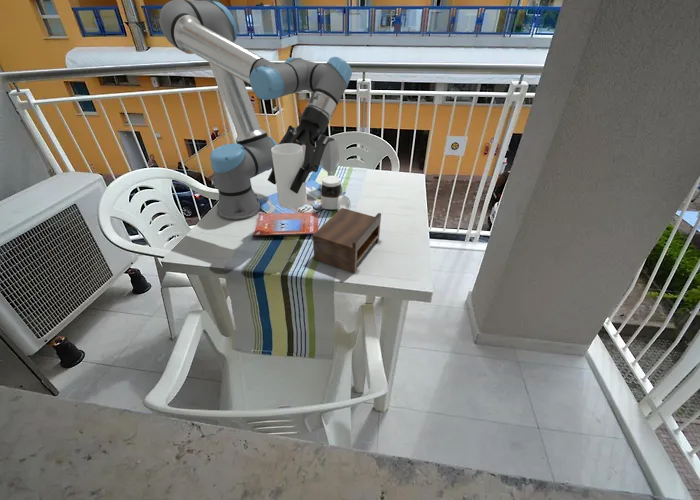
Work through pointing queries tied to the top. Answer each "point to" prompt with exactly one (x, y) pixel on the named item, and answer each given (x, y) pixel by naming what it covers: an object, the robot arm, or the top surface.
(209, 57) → the robot arm
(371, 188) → the top surface
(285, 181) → the cup
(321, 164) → the wineglass
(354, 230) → the small wooden box
